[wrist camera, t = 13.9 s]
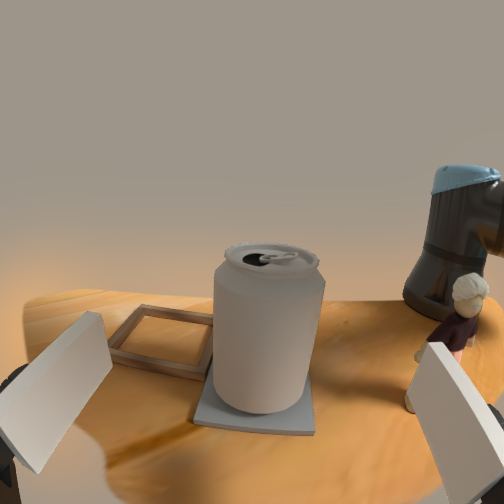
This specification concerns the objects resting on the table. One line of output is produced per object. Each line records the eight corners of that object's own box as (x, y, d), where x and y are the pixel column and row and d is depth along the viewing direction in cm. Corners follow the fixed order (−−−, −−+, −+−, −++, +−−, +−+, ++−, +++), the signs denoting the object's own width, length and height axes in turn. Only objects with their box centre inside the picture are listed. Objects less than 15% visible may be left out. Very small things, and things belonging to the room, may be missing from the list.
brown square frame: (224, 323, 34) (224, 315, 34) (205, 381, 24) (204, 373, 23) (142, 311, 34) (141, 303, 34) (101, 358, 24) (99, 350, 24)
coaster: (306, 365, 27) (307, 361, 27) (313, 435, 18) (315, 431, 18) (215, 357, 27) (215, 352, 27) (193, 424, 19) (193, 419, 19)
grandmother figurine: (413, 427, 18) (476, 289, 14) (387, 402, 21) (435, 269, 18) (459, 395, 21) (508, 277, 17) (435, 376, 24) (476, 262, 20)
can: (223, 357, 27) (227, 233, 23) (302, 366, 26) (323, 243, 22) (203, 412, 19) (200, 263, 16) (302, 425, 19) (337, 277, 15)
